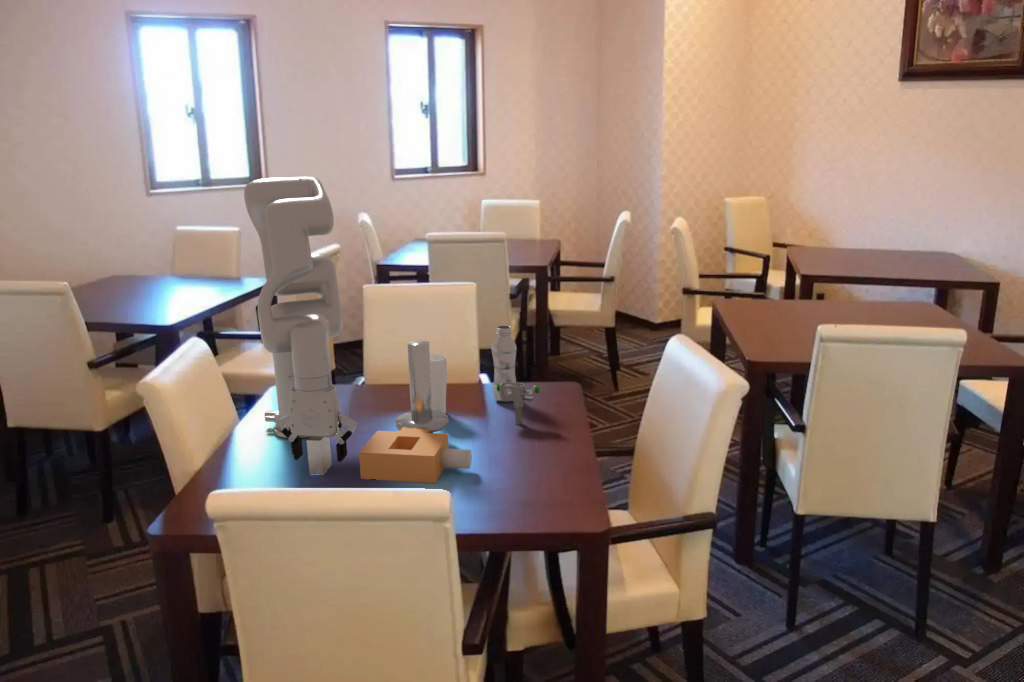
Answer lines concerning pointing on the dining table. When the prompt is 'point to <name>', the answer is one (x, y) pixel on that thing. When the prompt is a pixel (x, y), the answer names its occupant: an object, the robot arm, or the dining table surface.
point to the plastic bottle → (503, 359)
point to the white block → (319, 454)
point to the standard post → (421, 392)
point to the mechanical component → (517, 396)
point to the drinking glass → (438, 381)
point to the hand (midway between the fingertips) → (320, 458)
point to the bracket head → (410, 456)
